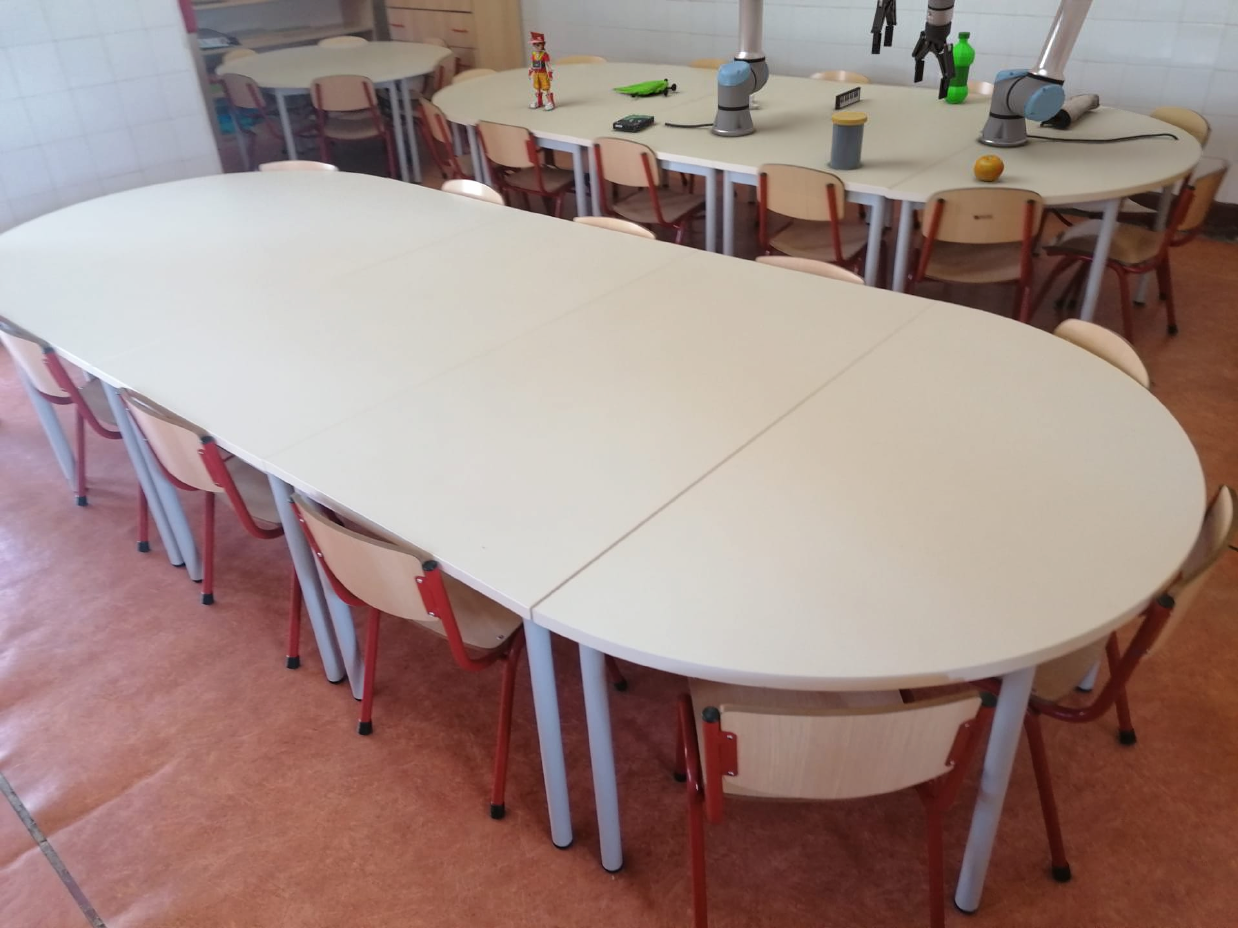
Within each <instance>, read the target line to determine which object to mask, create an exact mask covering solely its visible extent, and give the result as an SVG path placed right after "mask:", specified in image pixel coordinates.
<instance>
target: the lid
mask: <svg viewBox="0 0 1238 928" xmlns="http://www.w3.org/2000/svg"><path fill="white" fill-rule="evenodd" d="M830 121H831V123H832V124H833V123H834V124H838V125H848V126H850V125H860V124H864V125H865V124H866V123H867V122H868V114H867V113H865V112H862V111H854V110H853V111H852V110H851V111H850V110H849V111H848V110H845V111H837V112H835V113H832V114H831V117H830Z"/></svg>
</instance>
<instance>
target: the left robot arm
mask: <svg viewBox="0 0 1238 928" xmlns="http://www.w3.org/2000/svg"><path fill="white" fill-rule="evenodd" d="M738 5H739V7H738V47H737V48H738V49H737V51H736V52H735V54H734V55H733V61H730V62H726V63H723V64H721V65H720V67H719V68H718V70H717V111H716V114H715V118H714V120H713V122H711V123H700V124H676V123H669V122H665V123H664V126H668V127H669V126H670V127H675V128H684V129H685V128H687V129H688V128H689V129H690V128H692V129H693V128H694V129H695V128H704V127H712V133H713V134H715V135H717V136H721V137H741V136H746V135H750V134H752V133H754V127H755V126H754V122H753V118H752V115H751V111H750V108H749V97H750V96H751V95H754V94H755V93H757V92H759V91H761V90H762V89H763V88H764V87H765V86H766V84H767V83H768V81H769V77H770V68H769V65H768V63H767V62H766V53H765V52H764V50H762V48H763V23H764V20H763V19H764V0H739V4H738ZM873 17H874V18H873V23H872V26H871V30H870V34H872V43H871V53H870V54H871V55H880V54H881V46H882V36H883V32H882V30H883V27H884V23H885V22H886V25H885V28H884V37H883V47H885V48H886V47H888V48H891V47H892V46H893V39H894V28H895V26H898V22H897V0H877V2H876V9H875V12H874V16H873Z"/></svg>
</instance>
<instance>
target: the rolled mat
mask: <svg viewBox="0 0 1238 928" xmlns="http://www.w3.org/2000/svg"><path fill="white" fill-rule="evenodd" d="M1100 106H1101V103H1100V97H1099V94H1096V93H1083V94H1077V95H1074V96H1071V97H1070V98H1069V100H1067V101H1064V104H1063V106H1062V108H1061V109H1060V111H1059V112H1058V113H1057V114H1056V115H1055V116H1053V117H1051V118H1050V119H1048V120H1046V121H1042V122H1041V123H1040V124H1039V126H1040V127H1043V126H1045V125H1051V126H1052V127H1053V128H1055V129H1062V130H1065V129H1068V128H1069V127H1070V126H1071V125H1072V124H1074V122H1075V121H1076V120H1077V119H1079V117H1081V116H1082V115H1083V114H1084V113H1085V112H1087V111H1091V110H1096V109H1099V107H1100Z"/></svg>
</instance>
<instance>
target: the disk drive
mask: <svg viewBox="0 0 1238 928" xmlns="http://www.w3.org/2000/svg"><path fill="white" fill-rule="evenodd" d="M654 123H655V116H654V115H647V114H646V115H645V114H629V115H627V116H625V117H623V118H621V119H618V120H617V121H614V122H612V130H616V131H623V132H633V133H635V132H637V131H640V130H643V129H645V128H646V127H649V126H650V125H651V126H652V125H653V124H654Z"/></svg>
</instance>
